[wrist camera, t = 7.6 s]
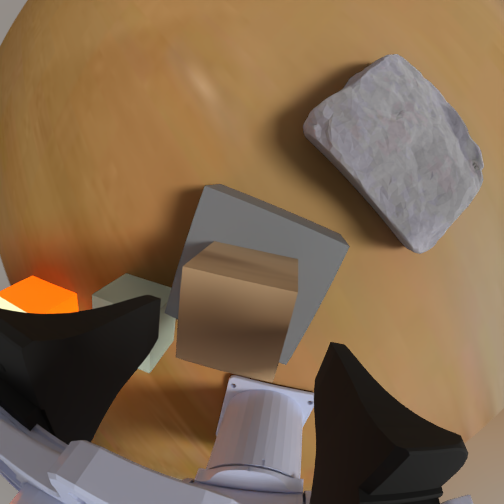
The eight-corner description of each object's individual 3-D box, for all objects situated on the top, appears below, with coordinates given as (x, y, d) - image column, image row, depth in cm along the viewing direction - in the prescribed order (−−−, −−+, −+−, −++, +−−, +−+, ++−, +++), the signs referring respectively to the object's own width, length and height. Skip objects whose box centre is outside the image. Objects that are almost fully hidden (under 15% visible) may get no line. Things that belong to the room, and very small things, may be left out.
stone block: (369, 62, 17) (287, 138, 18) (395, 33, 13) (299, 115, 14) (463, 171, 19) (399, 257, 20) (501, 166, 14) (436, 270, 15)
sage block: (173, 340, 24) (149, 373, 19) (125, 322, 24) (95, 349, 19) (179, 289, 22) (151, 317, 18) (126, 272, 23) (91, 294, 18)
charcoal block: (288, 335, 22) (286, 364, 19) (184, 291, 23) (164, 313, 19) (339, 233, 20) (349, 246, 16) (221, 183, 20) (204, 185, 16)
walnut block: (279, 332, 18) (272, 382, 13) (204, 314, 18) (175, 357, 14) (298, 259, 17) (297, 292, 12) (214, 241, 17) (182, 266, 12)
